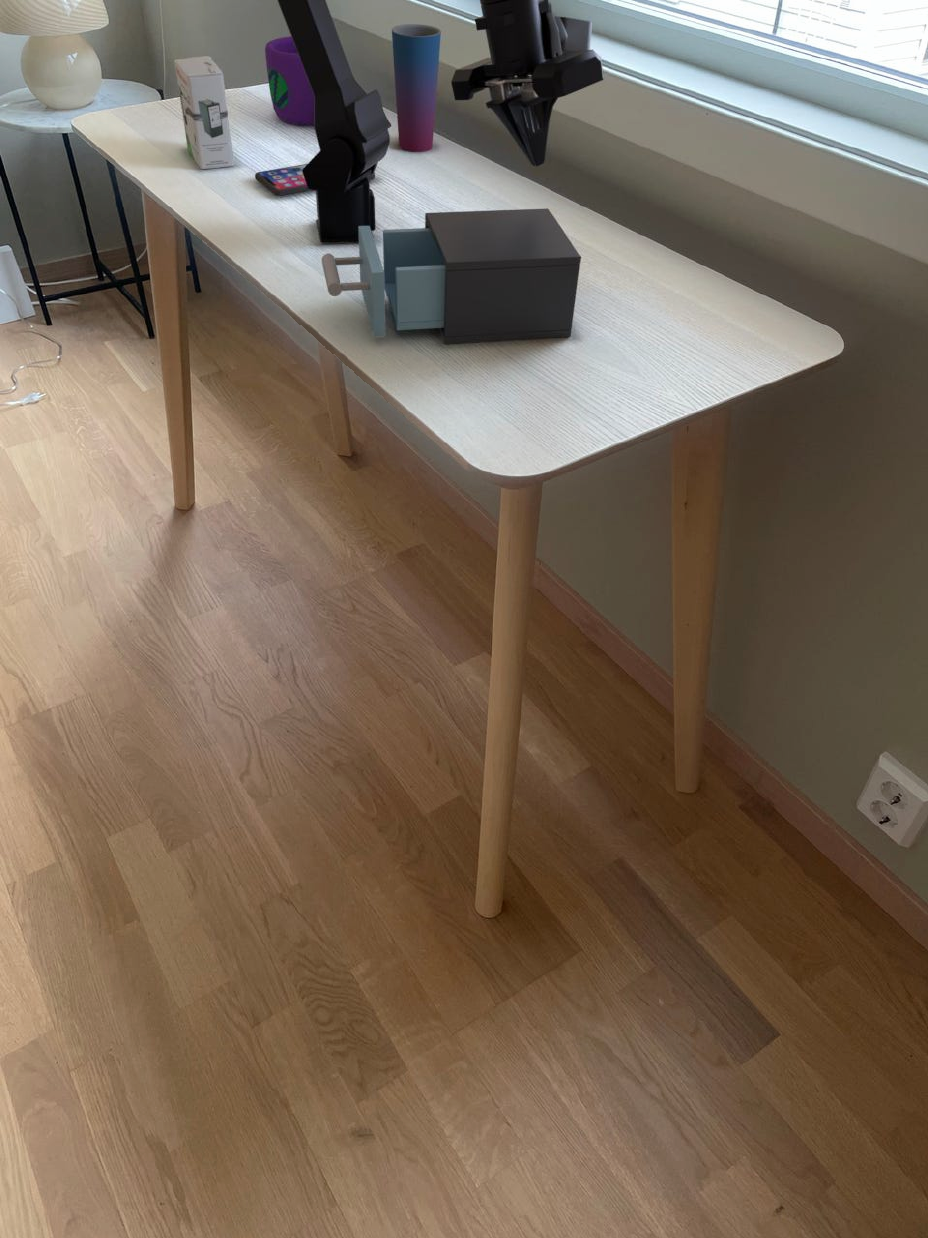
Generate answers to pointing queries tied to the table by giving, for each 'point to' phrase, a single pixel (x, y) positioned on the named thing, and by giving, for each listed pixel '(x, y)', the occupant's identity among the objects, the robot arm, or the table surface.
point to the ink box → (204, 112)
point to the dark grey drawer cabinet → (505, 275)
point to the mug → (289, 83)
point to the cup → (416, 83)
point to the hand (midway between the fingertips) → (538, 164)
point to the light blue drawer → (396, 278)
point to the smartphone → (287, 180)
